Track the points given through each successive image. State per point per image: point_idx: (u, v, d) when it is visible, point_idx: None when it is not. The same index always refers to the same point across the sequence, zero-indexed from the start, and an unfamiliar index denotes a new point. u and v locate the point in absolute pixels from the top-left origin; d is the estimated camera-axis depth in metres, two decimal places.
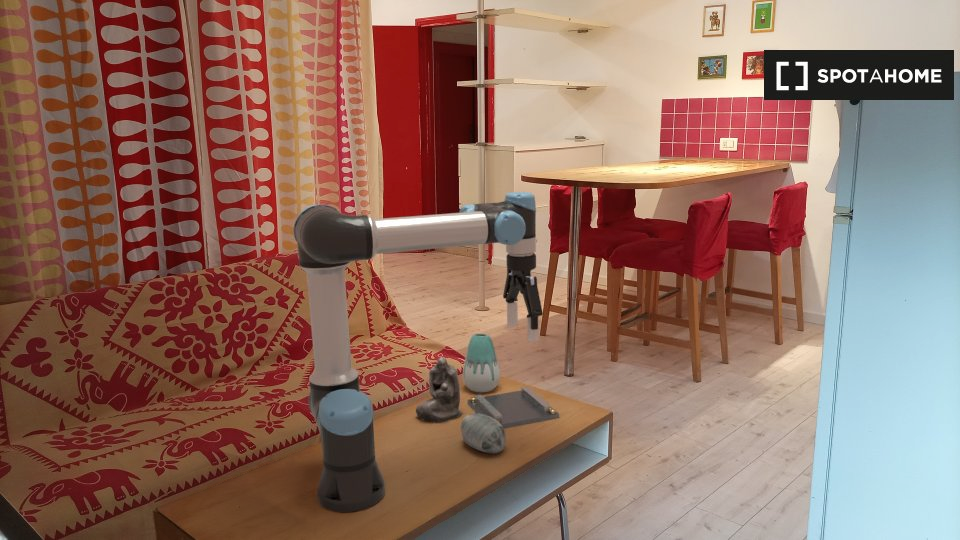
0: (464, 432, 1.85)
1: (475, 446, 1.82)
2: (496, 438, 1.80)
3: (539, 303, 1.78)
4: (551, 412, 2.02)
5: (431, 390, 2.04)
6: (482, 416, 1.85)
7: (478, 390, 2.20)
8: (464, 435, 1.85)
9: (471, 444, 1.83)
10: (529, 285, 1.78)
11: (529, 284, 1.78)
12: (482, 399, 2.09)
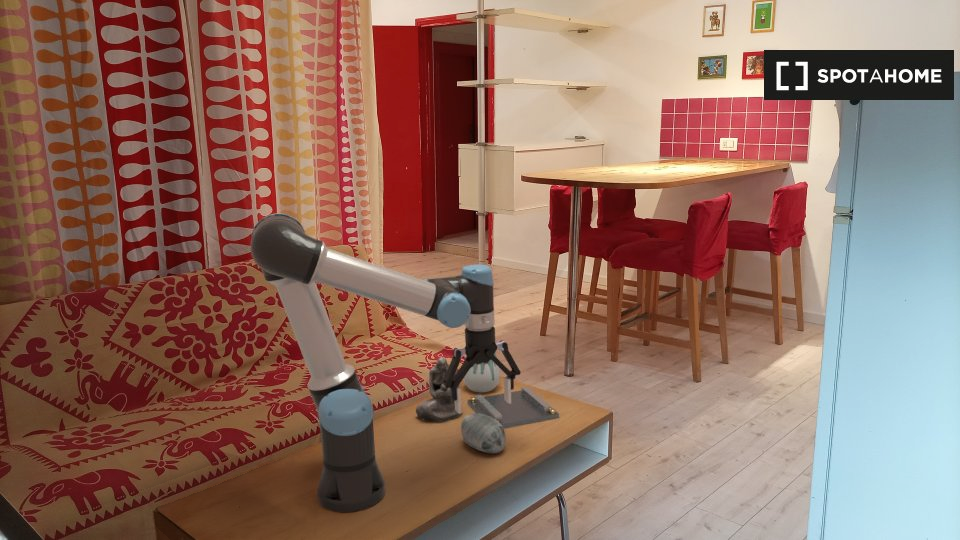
0: (464, 432, 1.85)
1: (475, 446, 1.82)
2: (496, 438, 1.80)
3: (448, 376, 1.78)
4: (551, 412, 2.02)
5: (431, 390, 2.04)
6: (482, 416, 1.85)
7: (478, 390, 2.20)
8: (464, 435, 1.85)
9: (471, 444, 1.83)
10: (453, 356, 1.79)
11: (453, 355, 1.79)
12: (482, 399, 2.09)
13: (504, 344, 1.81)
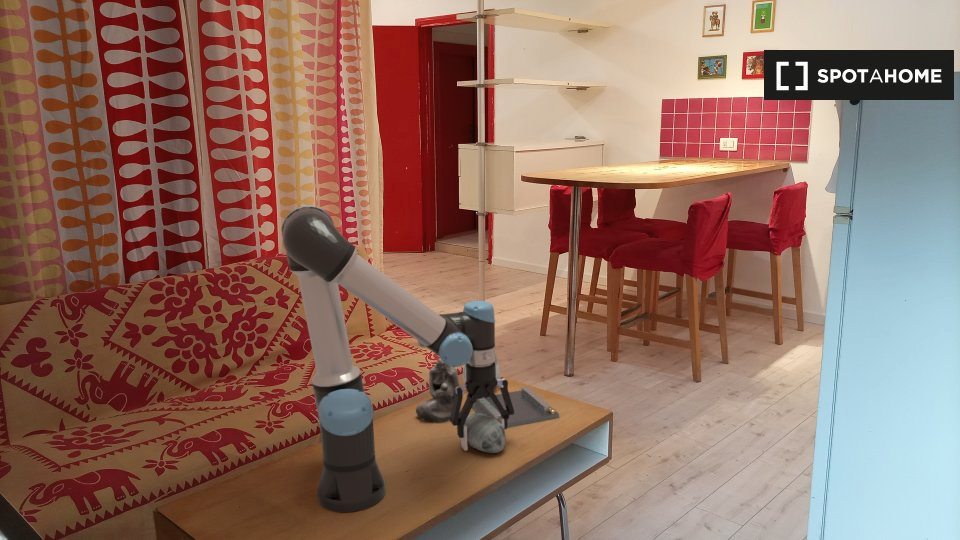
0: None
1: (475, 446, 1.82)
2: (496, 438, 1.80)
3: (454, 414, 1.81)
4: (551, 412, 2.02)
5: (431, 390, 2.04)
6: (482, 416, 1.85)
7: None
8: None
9: (471, 444, 1.83)
10: (455, 393, 1.82)
11: (455, 392, 1.81)
12: (482, 399, 2.09)
13: (505, 381, 1.84)
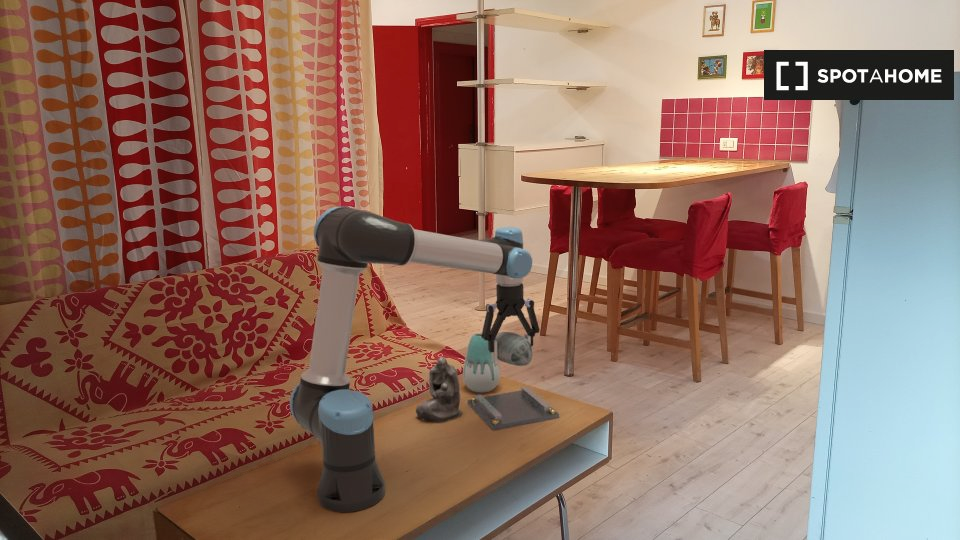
0: None
1: (505, 359, 2.00)
2: (524, 351, 1.98)
3: (485, 329, 1.99)
4: (551, 412, 2.02)
5: (431, 390, 2.04)
6: (511, 333, 2.04)
7: (478, 390, 2.20)
8: None
9: (501, 357, 2.01)
10: None
11: (486, 310, 2.00)
12: (482, 399, 2.09)
13: (531, 301, 2.02)
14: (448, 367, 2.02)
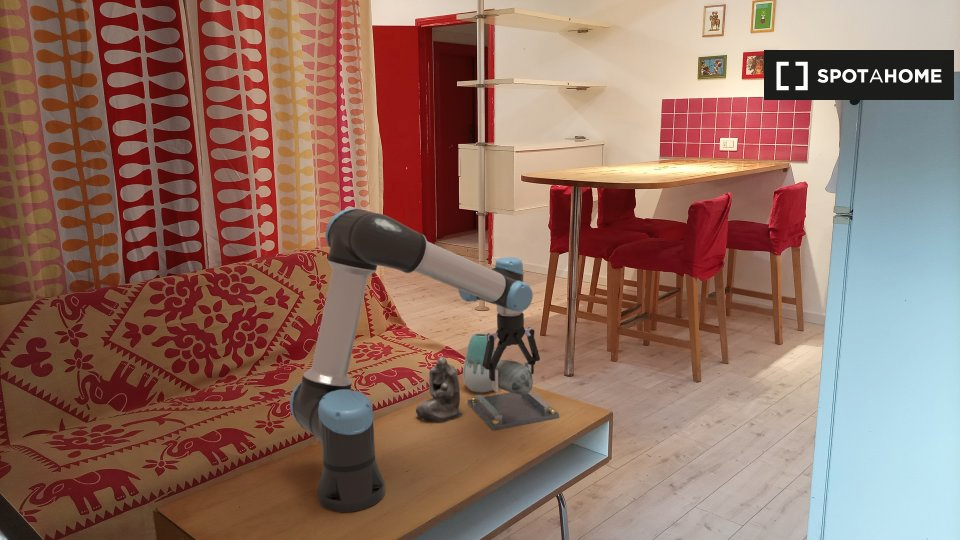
0: None
1: (505, 387, 2.02)
2: (525, 380, 2.00)
3: (486, 358, 2.01)
4: (551, 412, 2.02)
5: (431, 390, 2.04)
6: (511, 362, 2.06)
7: (478, 390, 2.20)
8: None
9: (502, 386, 2.03)
10: (487, 340, 2.02)
11: (487, 340, 2.02)
12: (482, 399, 2.09)
13: (531, 330, 2.04)
14: (448, 367, 2.02)
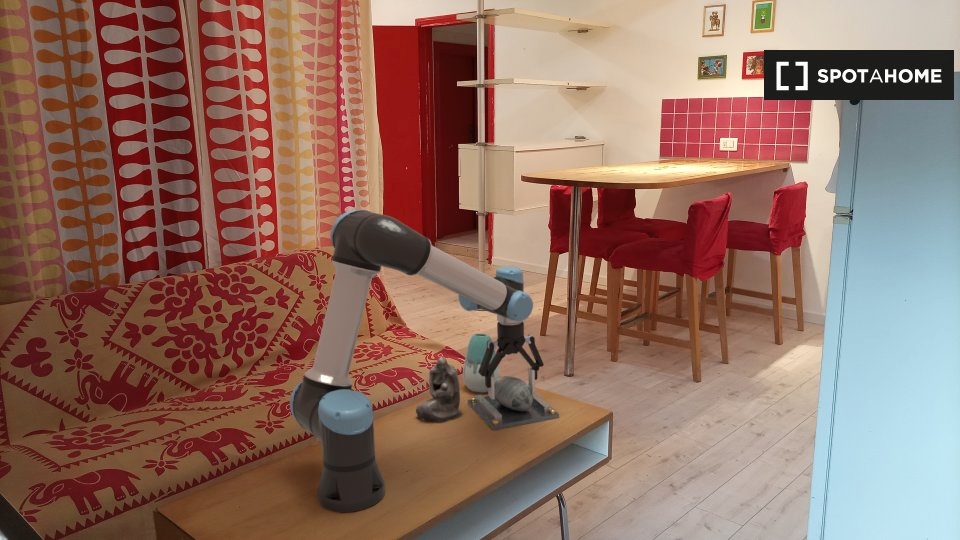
0: (495, 392, 2.07)
1: (506, 404, 2.03)
2: (524, 397, 2.01)
3: (484, 365, 2.01)
4: (551, 412, 2.02)
5: (431, 390, 2.04)
6: (512, 378, 2.07)
7: (478, 390, 2.20)
8: (496, 395, 2.07)
9: (502, 402, 2.04)
10: (487, 347, 2.02)
11: (487, 347, 2.02)
12: (482, 399, 2.09)
13: (531, 338, 2.05)
14: (448, 367, 2.02)
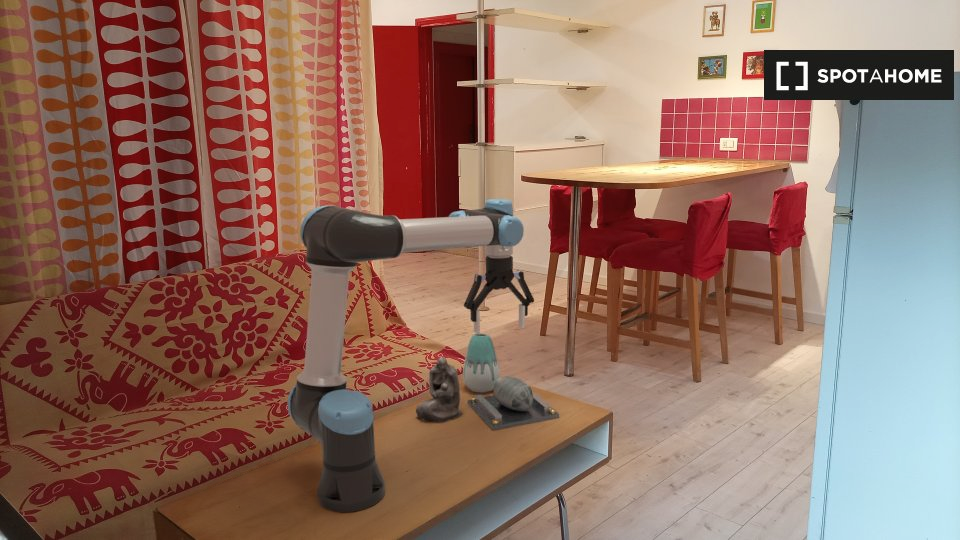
0: (496, 392, 2.07)
1: (506, 404, 2.03)
2: (524, 397, 2.01)
3: (469, 298, 1.97)
4: (551, 412, 2.02)
5: (431, 390, 2.04)
6: (512, 378, 2.07)
7: (478, 390, 2.20)
8: (496, 395, 2.07)
9: (502, 402, 2.04)
10: (474, 281, 1.98)
11: (474, 280, 1.98)
12: (482, 399, 2.09)
13: (520, 273, 2.01)
14: (448, 367, 2.02)
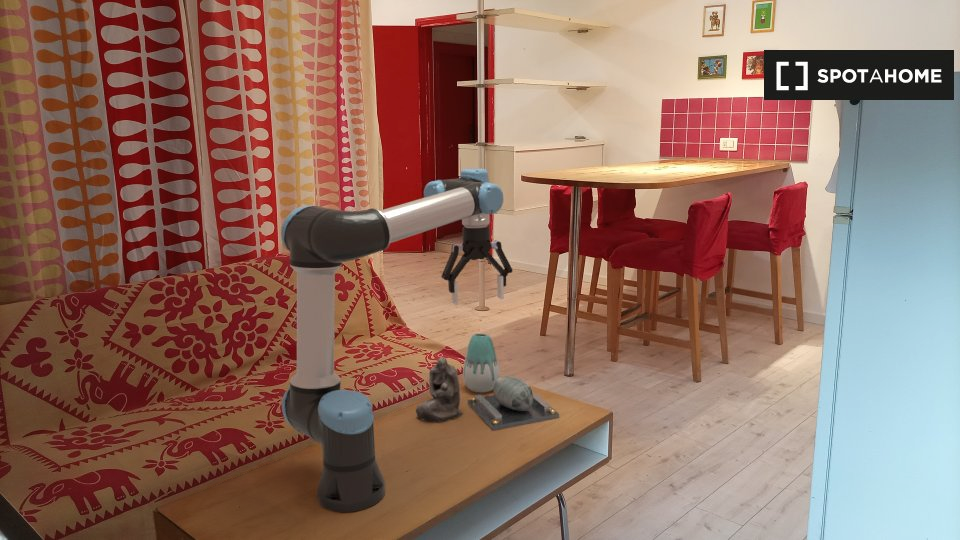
0: (496, 392, 2.07)
1: (506, 404, 2.03)
2: (524, 397, 2.01)
3: (447, 269, 1.96)
4: (551, 412, 2.02)
5: (431, 390, 2.04)
6: (512, 378, 2.07)
7: (478, 390, 2.20)
8: (496, 395, 2.07)
9: (502, 402, 2.04)
10: (451, 251, 1.97)
11: (451, 250, 1.97)
12: (482, 399, 2.09)
13: (498, 243, 2.00)
14: (448, 367, 2.02)
